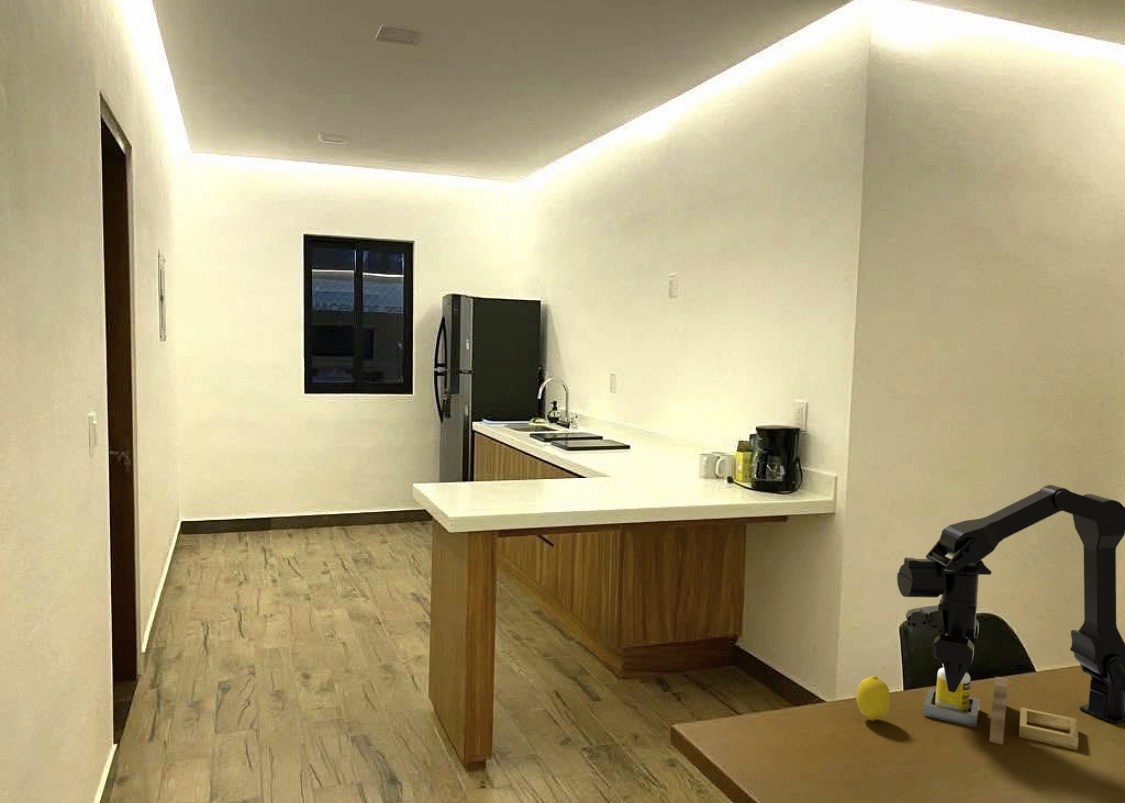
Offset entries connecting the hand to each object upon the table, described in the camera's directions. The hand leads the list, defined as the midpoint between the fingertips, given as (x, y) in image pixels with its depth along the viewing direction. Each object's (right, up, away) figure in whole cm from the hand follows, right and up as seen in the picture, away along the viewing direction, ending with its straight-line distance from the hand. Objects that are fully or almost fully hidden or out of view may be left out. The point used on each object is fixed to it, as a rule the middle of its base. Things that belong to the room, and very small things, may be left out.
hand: (953, 682), depth 152 cm
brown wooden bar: (+6, -6, -3) cm, 9 cm away
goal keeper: (+13, -6, -7) cm, 16 cm away
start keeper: (0, -6, 0) cm, 6 cm away
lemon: (-16, -6, -4) cm, 17 cm away
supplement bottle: (0, -6, 0) cm, 6 cm away
